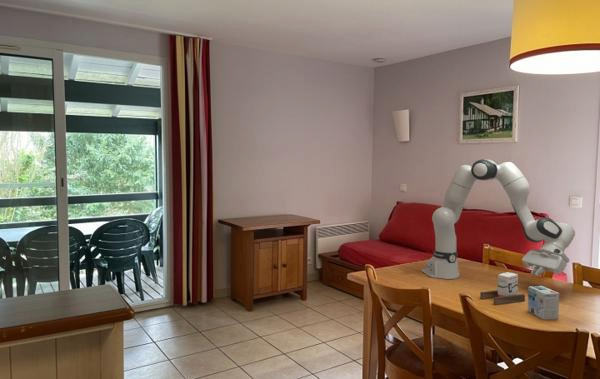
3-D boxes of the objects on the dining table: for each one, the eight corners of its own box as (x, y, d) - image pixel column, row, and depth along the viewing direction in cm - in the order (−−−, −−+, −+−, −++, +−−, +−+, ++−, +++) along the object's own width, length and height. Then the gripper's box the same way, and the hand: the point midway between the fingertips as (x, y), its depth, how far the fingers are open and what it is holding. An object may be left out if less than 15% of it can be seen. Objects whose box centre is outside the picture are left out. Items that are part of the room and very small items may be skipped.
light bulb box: (527, 310, 181) (527, 285, 180) (542, 310, 181) (542, 285, 181) (543, 320, 170) (544, 293, 170) (559, 319, 171) (560, 292, 170)
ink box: (507, 302, 192) (507, 276, 191) (497, 299, 196) (497, 274, 195) (517, 299, 197) (518, 273, 196) (507, 296, 201) (508, 271, 200)
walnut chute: (480, 298, 198) (480, 292, 198) (507, 294, 203) (507, 288, 203) (496, 305, 188) (496, 298, 188) (524, 301, 193) (524, 294, 193)
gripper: (528, 244, 212) (512, 265, 210) (566, 252, 193) (548, 275, 190) (535, 252, 214) (519, 273, 211) (573, 261, 194) (556, 284, 192)
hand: (533, 274), depth 201 cm, fingers closed
